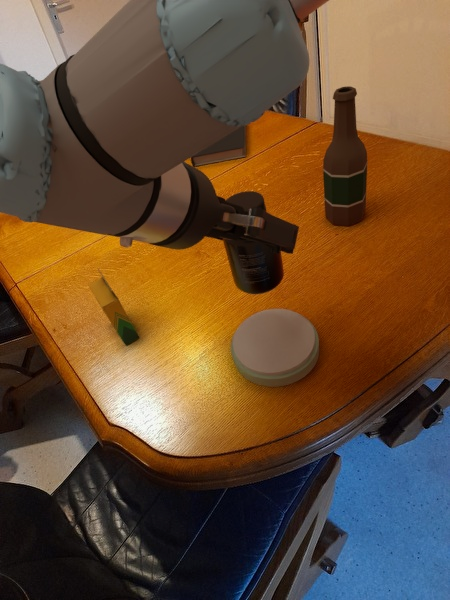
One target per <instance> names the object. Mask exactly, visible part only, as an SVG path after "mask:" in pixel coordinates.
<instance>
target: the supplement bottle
mask: <svg viewBox="0 0 450 600" xmlns="http://www.w3.org/2000/svg"><path fill="white" fill-rule="evenodd" d="M225 200H226V202H229V203H232V204H235V205H238V206H241V207H243V208H244V211H245V213H246V214H248V210H249V209H252V208H254V207H261V209H264V210H265V211H266V212H267V213H268V214H271V213H270V212H268V211H267V207H266V203H265V197H264V196H263V194H262V193H260V192H258V191H254V190H252V191H251V190H247V191H245V190H244V191H241V192H237V193H234V194H232V195H230V196H229V197H228V198H227V199H225ZM224 233H227V231H226V232H224ZM223 245H224V249H225V253H226V258H227V260H228V265H229V268H230V272H231V275H232V279H233V282H234V284H235V287H236V288H237V289H238V290H239V291H241V292H243V293H245V294H249V295H261V294H266V293H269V292H271V291H273V290H275V289H276V288H278V287H279V285H280V284H281V283H282V281H283V279H284V275H285V271H284V263H283V257H282V251H281V252H280V254H277V253H272V252H271V250H272V248H270V247H268V245H267V244H263V243H259V242H255V241H251V240H247V239H244V238H239V239H238V240H228V239H223Z"/></svg>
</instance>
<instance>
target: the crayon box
mask: <svg viewBox="0 0 450 600" xmlns="http://www.w3.org/2000/svg"><path fill="white" fill-rule="evenodd" d="M97 271H98V272H99V274H100V275H101V277H99V278H98V279H95V280H94V281H91V282H90V283H88V287H89V289H90V291H91V292H92V294H93V296H94V298H95V299H96V301H97V303H98V305H99V306H100V308H101V309H102V311H103V312H104V314H105V316H106V318H107V319H108V321H109V322H110V324H111V325H112V327H113V329H114V330H115V332H116V333H117V335H118V337H119V338H120V340H121V341H122V343H123V344H124V346H125V347H126V346H127V347H128V345H131V344H132V343H134V342H135V341H137V340H139V339H141V336H140V335H139V333H138V331H137V329H136V328H135V327H134V324H133V322H132V321H131V319H130V317H129V315H128V314H127V312H126V310H125V308H124V306H123V305H122V303H121V301H120V300H119V297H118V296H117V295H116V293H115V292H114V290H113V289H112V288H111V286H110V284H109V283H108V281H107V279H106V278H105V276H104V275H103V273H102V272H101V270H100V269H99V268H97Z"/></svg>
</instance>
